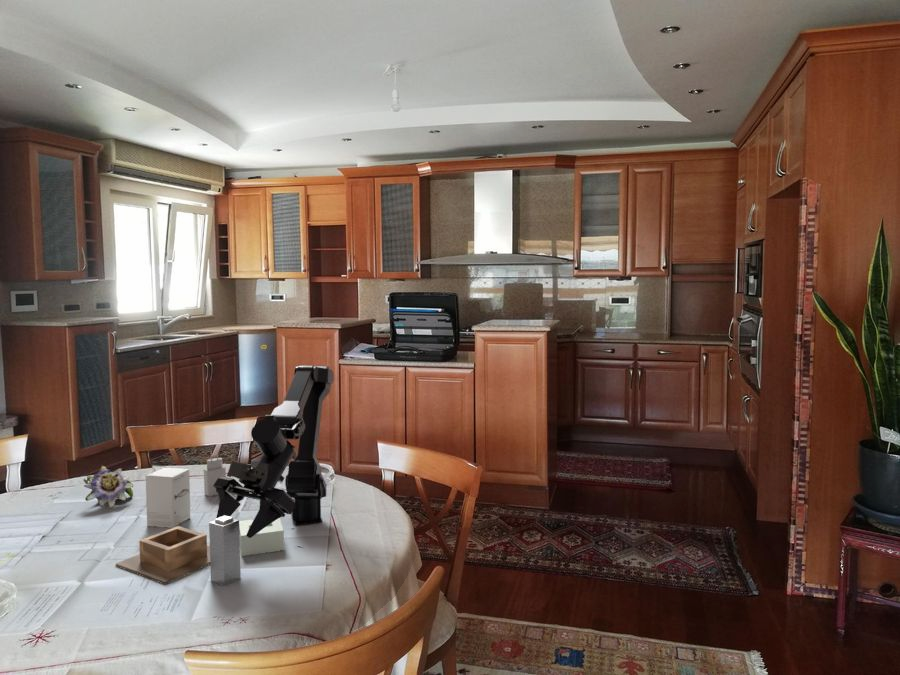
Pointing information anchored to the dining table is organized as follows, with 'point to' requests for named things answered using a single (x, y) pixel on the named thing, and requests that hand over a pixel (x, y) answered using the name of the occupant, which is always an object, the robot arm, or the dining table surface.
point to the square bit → (224, 550)
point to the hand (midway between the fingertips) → (231, 532)
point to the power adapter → (213, 474)
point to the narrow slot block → (261, 538)
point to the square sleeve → (170, 555)
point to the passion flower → (108, 487)
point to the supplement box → (168, 497)
